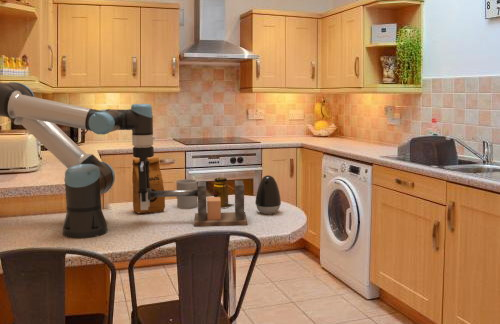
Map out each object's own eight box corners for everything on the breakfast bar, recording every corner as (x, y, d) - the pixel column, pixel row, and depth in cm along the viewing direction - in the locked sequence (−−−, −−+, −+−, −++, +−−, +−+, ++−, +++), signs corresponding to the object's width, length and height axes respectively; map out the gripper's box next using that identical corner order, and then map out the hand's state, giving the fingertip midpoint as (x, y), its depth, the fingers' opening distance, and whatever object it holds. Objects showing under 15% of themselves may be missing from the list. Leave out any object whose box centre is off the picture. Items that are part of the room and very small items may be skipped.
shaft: (139, 201, 200) (138, 189, 200) (140, 198, 205) (140, 187, 204) (204, 199, 202) (204, 188, 201) (204, 197, 206) (204, 185, 205)
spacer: (207, 219, 202) (207, 201, 201) (207, 215, 209) (207, 197, 208) (220, 219, 202) (220, 201, 201) (220, 214, 209) (220, 197, 208)
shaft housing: (194, 226, 198) (193, 187, 196) (195, 216, 212) (194, 180, 210) (247, 225, 199) (247, 186, 197) (245, 215, 213) (244, 179, 211)
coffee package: (166, 212, 219) (165, 158, 216) (135, 215, 215) (133, 160, 211) (161, 207, 228) (159, 155, 225) (131, 210, 224) (129, 157, 221)
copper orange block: (209, 207, 228) (209, 179, 227) (220, 203, 236) (219, 175, 234) (224, 208, 225) (224, 180, 223) (234, 204, 232) (234, 177, 231)
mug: (198, 208, 226) (198, 182, 225) (178, 209, 225) (177, 183, 223) (195, 202, 238) (195, 177, 236) (176, 203, 236) (175, 178, 235)
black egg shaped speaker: (252, 215, 214) (252, 177, 212) (258, 209, 224) (258, 172, 222) (278, 216, 212) (278, 178, 209) (282, 210, 222) (283, 173, 219)
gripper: (150, 149, 191) (152, 213, 195) (155, 143, 208) (157, 202, 212) (129, 149, 191) (131, 214, 194) (136, 143, 208) (138, 203, 211)
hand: (145, 208), depth 203 cm, fingers closed on shaft, 4 cm apart
